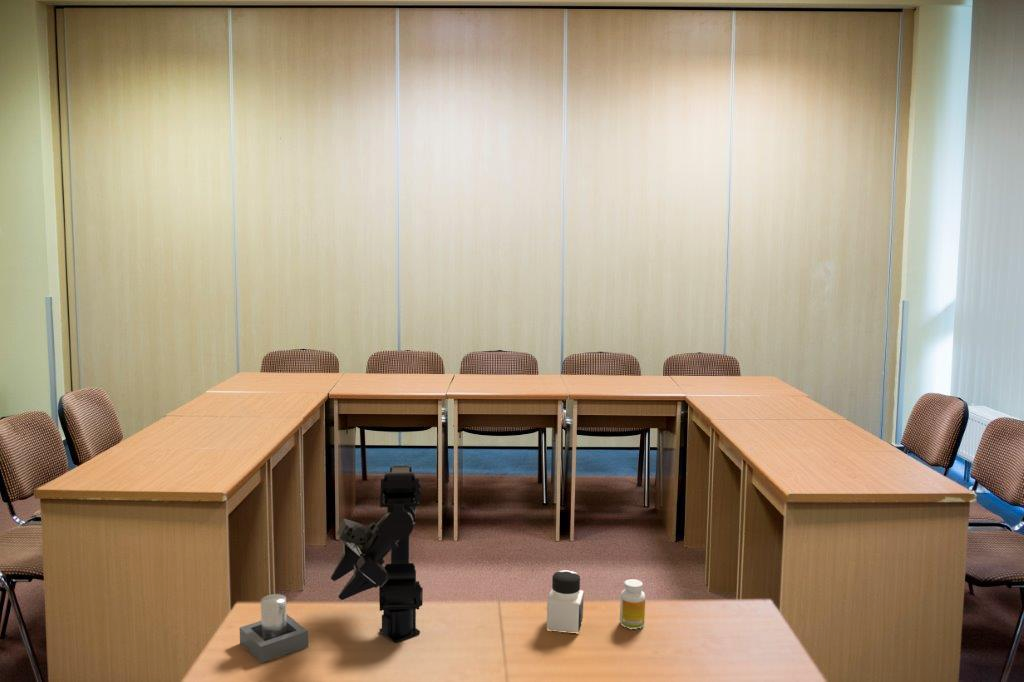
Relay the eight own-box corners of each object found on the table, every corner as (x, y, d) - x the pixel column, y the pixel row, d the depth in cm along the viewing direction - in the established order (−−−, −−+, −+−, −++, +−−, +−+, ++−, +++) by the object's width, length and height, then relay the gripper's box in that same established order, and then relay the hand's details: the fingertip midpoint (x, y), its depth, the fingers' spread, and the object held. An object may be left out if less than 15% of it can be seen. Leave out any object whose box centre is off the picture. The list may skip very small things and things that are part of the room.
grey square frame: (285, 628, 178) (285, 613, 178) (308, 646, 171) (307, 630, 170) (239, 643, 172) (239, 627, 171) (261, 663, 164) (260, 646, 164)
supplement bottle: (648, 629, 181) (649, 586, 180) (624, 631, 180) (626, 589, 179) (638, 617, 187) (640, 576, 185) (616, 619, 185) (617, 578, 184)
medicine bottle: (579, 635, 178) (580, 582, 176) (546, 631, 179) (547, 578, 178) (582, 620, 185) (584, 568, 183) (551, 616, 186) (552, 565, 185)
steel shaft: (280, 636, 175) (279, 591, 174) (291, 645, 171) (290, 600, 170) (258, 644, 172) (256, 598, 170) (268, 653, 168) (267, 607, 167)
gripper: (353, 492, 175) (300, 548, 173) (371, 522, 158) (313, 584, 156) (389, 523, 179) (339, 579, 177) (411, 556, 162) (355, 618, 160)
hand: (336, 588), depth 167 cm, fingers open, 9 cm apart
